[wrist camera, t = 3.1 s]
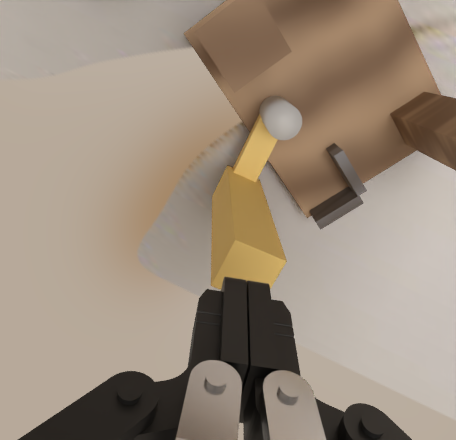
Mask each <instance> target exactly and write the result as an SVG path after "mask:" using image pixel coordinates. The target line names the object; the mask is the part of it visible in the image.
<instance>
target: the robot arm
mask: <svg viewBox="0 0 456 440" xmlns="http://www.w3.org/2000/svg"><path fill="white" fill-rule="evenodd" d="M239 422H240V423H244V440H412V439H411V438H410V437H409V436H407V434H406V433H404V432H403V431H402V430H401V429H400V428H399V427H398V426H397V425H396V424H395V423H394V422H393V421H392V420H391V419H390V418H389V417H388V416H386V415H385V414H384V413H383V412H382V411H380V410H379V409H377V408H375V407H373V406H370V405H367V404H361V403H358V404H353V405H351V406H349V407H348V408H347V409H346V411H345V412H343V411H340V410H338V409H336V408H334V407H332V406H329V405H327V404H325V403H323V402H321V401H320V400H318V399H316V398H315V397H314V393H313V390H312V388H311V386H310V385H309V384H308V382H307V381H306V380H305V379H303V378H302V377H301V376H300V370H299V364H298V357H297V351H296V346H295V339H294V332H293V328H292V320H291V314H290V312H289V310H288V309H287V307H286V306H285V304H284V303H283V301H277V300H271V294H270V285H269V284H268V283H261V282H255V281H249V280H247V282H246V280H244V279H237V278H231V277H224V279H223V283H222V288H221V291H215V290H209V289H207V290H206V291H205V292H204V293H203V294H202V296H201V297H200V298H199V302H198V307H197V312H196V317H195V323H194V328H193V333H192V342H191V348H190V356H189V362H188V368H187V369H186V370H185V371H184V373H182V374H181V375H179V376H178V377H176V378H173V379H170V380H166V381H160V382H154V381H153V380H152V379H151V378H150V377H149V376H147V375H145V374H143V373H140V372H136V371H127V372H122V373H119V374H116V375H114V376H113V377H111V378H109V379H108V380H107V381H105V382H104V383H102V384H100V385H99V386H98V387H96V388H95V389H93V390H92V391H90V392H89V393H87V394H86V395H84V396H83V397H81V398H80V399H78V400H77V401H75V402H74V403H72V404H71V405H69V406H68V407H66V408H65V409H63V410H62V411H60V412H59V413H57V414H56V415H54V416H53V417H51V418H50V419H48V420H47V421H45V422H44V423H42V424H41V425H39V426H38V427H36V428H35V429H33V430H32V431H30V432H29V433H27V434H26V435H24V436H23V437H21V438H20V439H18V440H238V429H239Z"/></svg>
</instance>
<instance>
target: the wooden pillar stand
mask: <svg viewBox="0 0 456 440" xmlns="http://www.w3.org/2000/svg"><path fill="white" fill-rule="evenodd" d="M184 35H185V36H186V38H187V39H188V41H189V42H190V44H191V45H192V47H193V48H194V50H195V51H196V53H197V54H198V56H199V57H200V58H201V60H202V62H203V63H204V65H205V66H206V67H207V69H208V71H209V72H210V74H211V75H212V77H213V78H214V79H215V81H216V83H217V84H218V85H219V87H220V88H221V90H222V91H223V93H224V94H225V96H226V97H227V99H228V100H229V102H230V103H231V105H232V106H233V108H234V109H235V111H236V112H237V114H238V115H239V117H240V118H241V120H242V121H243V123H244V124H245V126H246V127H247V129H248V130H249V132H251V130H252V128H253V126H254V124H255V122H256V120H257V118H258V116H259V109H260V106H261V104H262V102H263V101H264V100H265V99H266V98H268V97H270V96H280V97H282V98H284V99H285V100H286V101H288V102H289V103H290V104H292V105H293V106H294V107H295V108H297V109H298V110H299V112H300V114H301V116H302V126H301V129H300V131H299V132H298V134H297V135H296V136H295V137H293V138H291V139H289V140H277V142H276V144H275V146H274V148H273V150H272V152H271V154H270V156H269V158H268V160H269V162H270V163H271V165H272V166H273V168H274V169H275V171H276V172H277V174H278V175H279V177H280V178H281V180H282V181H283V183H284V184H285V186H286V187H287V189H288V190H289V192H290V193H291V195H292V196H293V198H294V199H295V201H296V202H297V204H298V205H299V207H300V208H301V210H302V211H303V213H304V214H305V215H306V217H307V218H308V217H310V216H311V215H312V216H313V218H314V220H315V222H316V223H317V225H318V226H319V228H320V229H322V228H324V227H325V226H327V225H329V224H330V223H332V222H333V221H335V220H337V219H338V218H340V217H342V216H343V215H345V214H347V213H348V212H350V211H352V210H353V209H355V208H357V207H358V206H360V205H361V204H363V201H362V200H361V198H360V196H359V195H361V194H362V193H364V192H366V191H367V190H366V188H365V187H364V185H363V183H365V182H366V181H368V180H369V179H371V178H373V177H374V176H376V175H378V174H379V173H381V172H382V171H384V170H386V169H387V168H389V167H390V166H392V165H394V164H395V163H397V162H399V161H400V160H402V159H403V158H405V157H407V156H408V155H410V154H411V153H413V152H415V151H416V150H417V151H419V152H421V153H423V154H425V155H427V156H429V157H431V158H433V159H435V160H437V161H439V162H440V163H442V164H444V165H446V166H448V167H450V168H452V169H454V170H456V98H451V97H447V96H442V95H441V94H440V91H439V89H438V87H437V85H436V83H435V80H434V78H433V76H432V74H431V72H430V69H429V67H428V65H427V63H426V61H425V59H424V56H423V54H422V52H421V50H420V48H419V45H418V43H417V41H416V39H415V37H414V34H413V32H412V30H411V28H410V26H409V23H408V21H407V19H406V17H405V15H404V13H403V10H402V8H401V6H400V4H399V2H398V0H226V1H225V2H223V3H222V4H221V5H220V6H218V7H217V8H216V9H215V10H213V11H212V12H211V13H209V14H208V15H207V16H206V17H204V18H203V19H202V20H200V21H199V22H198V23H197V24H195V25H194V26H193V27H191V28H190V29H189V30H188V31H186V32H185V33H184Z"/></svg>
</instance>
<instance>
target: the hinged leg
mask: <svg viewBox="0 0 456 440" xmlns="http://www.w3.org/2000/svg"><path fill="white" fill-rule="evenodd" d="M301 126H302V116H301V114H300V112H299V110H298V109H297V108H295V107H294V106H293V105H292V104H290V103H289V102H288V101H286V100H285V99H284V98H282V97H280V96H270V97H268V98H266V99H265V100H264V101H263V102H262V104H261V106H260V109H259V116H258V118H257V120H256V122H255V124H254V126H253V128H252V130H251V132H250V134H249V136H248V138H247V140H246V142H245V144H244V146H243V148H242V150H241V152H240V154H239V157H238V159H237V161H236V163H235V165H234V167H233V168H232V167H230V166H228V165H227V167H226V169H225V171H224V173H223V175H222V177H221V179H220V181H219V183H218V186H217V188H216V190H215V192H214V194H213V196H212V249H211V286H213V287H215V288H218V289H221V288H222V283H223V279H224V277H231V278H237V279H244V280H246V282H247V280H249V281H255V282H261V283H268V284H269V285H270V288H271V287H272V285H273V283H274V282H275V280H276V278H277V277H278V275H279V273H280V272H281V270H282V268H283V267H284V265H285V263H286V262H287V261H286V258H285V255H284V252H283V249H282V246H281V243H280V240H279V237H278V234H277V231H276V228H275V225H274V222H273V219H272V216H271V213H270V210H269V207H268V204H267V201H266V198H265V195H264V192H263V189H262V186H261V183H260V180H259V179H258V177H259V175H260V173H261V171H262V169H263V167H264V165H265V164H266V162H267V160H268V158H269V156H270V154H271V152H272V150H273V148H274V146H275V144H276V142H277V140H289V139H291V138H293V137H295V136H296V135H297V134H298V132H299V131H300V129H301Z"/></svg>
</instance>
